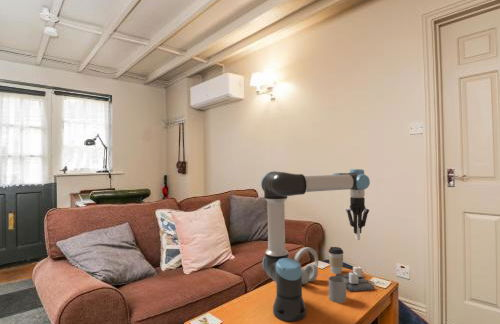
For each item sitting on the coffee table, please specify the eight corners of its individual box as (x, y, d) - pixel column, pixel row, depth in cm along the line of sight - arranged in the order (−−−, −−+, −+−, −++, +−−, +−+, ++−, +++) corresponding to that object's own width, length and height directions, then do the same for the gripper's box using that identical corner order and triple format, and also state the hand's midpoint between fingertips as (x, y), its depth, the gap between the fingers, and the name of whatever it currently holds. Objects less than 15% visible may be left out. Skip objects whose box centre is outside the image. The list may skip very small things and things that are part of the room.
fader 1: (355, 277, 166) (355, 268, 166) (352, 275, 169) (352, 266, 169) (362, 277, 167) (361, 268, 167) (359, 274, 170) (359, 266, 170)
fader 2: (351, 283, 158) (351, 274, 158) (348, 281, 161) (348, 272, 161) (358, 283, 158) (358, 274, 158) (355, 281, 161) (355, 271, 161)
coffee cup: (345, 270, 183) (345, 247, 183) (341, 275, 175) (341, 250, 175) (331, 268, 188) (330, 245, 187) (326, 272, 180) (326, 248, 180)
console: (348, 291, 154) (348, 285, 154) (335, 277, 172) (335, 272, 172) (373, 289, 155) (373, 284, 155) (358, 276, 173) (358, 271, 173)
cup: (347, 303, 141) (346, 283, 141) (329, 302, 143) (329, 282, 143) (345, 295, 150) (344, 276, 150) (328, 294, 151) (328, 275, 151)
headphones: (299, 289, 157) (299, 252, 157) (289, 284, 164) (288, 249, 164) (322, 280, 169) (322, 246, 168) (312, 276, 175) (311, 243, 175)
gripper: (348, 197, 157) (349, 241, 157) (371, 197, 158) (372, 240, 158) (343, 196, 165) (343, 237, 165) (365, 195, 166) (365, 237, 166)
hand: (357, 239), depth 162 cm, fingers closed
